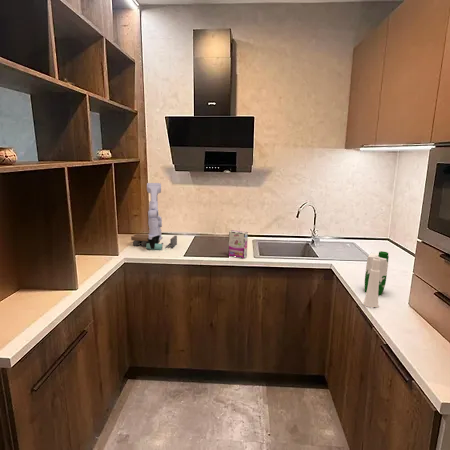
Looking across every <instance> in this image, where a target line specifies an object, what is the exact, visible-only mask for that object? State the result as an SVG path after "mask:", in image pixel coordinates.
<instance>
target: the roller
mask: <svg viewBox="0 0 450 450" xmlns="http://www.w3.org/2000/svg"><path fill="white" fill-rule="evenodd" d="M145 248H146V250H152V249H151V247H150V243H147V244H146V246H145ZM153 250H157V251H158V250H159V251H162V250H163V245H162V244H161V243H158V244H156V243H155V247H154V249H153Z"/></svg>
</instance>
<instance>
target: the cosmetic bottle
mask: <svg viewBox="0 0 450 450" xmlns="http://www.w3.org/2000/svg"><path fill="white" fill-rule="evenodd" d="M379 258H380V257H378V256H374V258H373V262H372V269H371V270H370V275H369V281H368V287H367V292H365V297H364V301H363V305H364V306H366V307H367V308H370V307H372V309H374V308H373V307H377V308H378V307H380V306H379V295H378V289H379V275H380V270H379V264H380V259H379Z"/></svg>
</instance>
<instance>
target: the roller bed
mask: <svg viewBox="0 0 450 450" xmlns="http://www.w3.org/2000/svg"><path fill="white" fill-rule="evenodd" d="M132 241H133V242H132V245H133V246H134V247H137V246H139V245H140V246H141V247H145V248H146V244H147V243H149V241H134V240H132ZM160 242H161V240H158V244H162V246H163V245H164V242H161V243H160ZM169 247H170V243H168V244H167V245H165V249H167V248H169Z"/></svg>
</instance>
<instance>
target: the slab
mask: <svg viewBox="0 0 450 450" xmlns="http://www.w3.org/2000/svg"><path fill="white" fill-rule="evenodd" d="M130 238H131V239H130V240H131V241H148V239H147V238H149V235H148V233H136V234H134V235H132V236H131V237H130Z"/></svg>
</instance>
